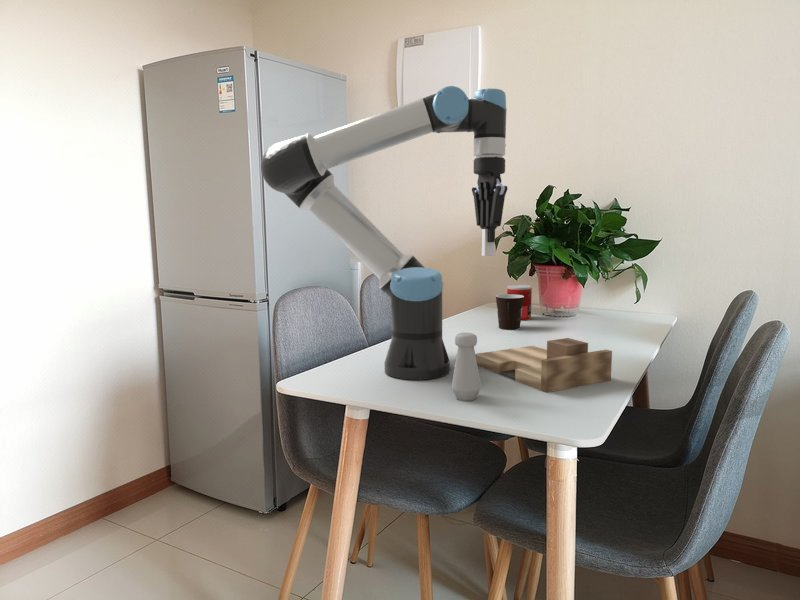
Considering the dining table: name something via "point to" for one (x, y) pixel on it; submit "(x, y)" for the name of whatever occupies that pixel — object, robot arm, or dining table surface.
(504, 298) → the coffee mug
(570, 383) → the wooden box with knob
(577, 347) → the walnut block
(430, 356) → the robot arm
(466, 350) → the salt shaker
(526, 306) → the canned food
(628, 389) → the dining table surface
